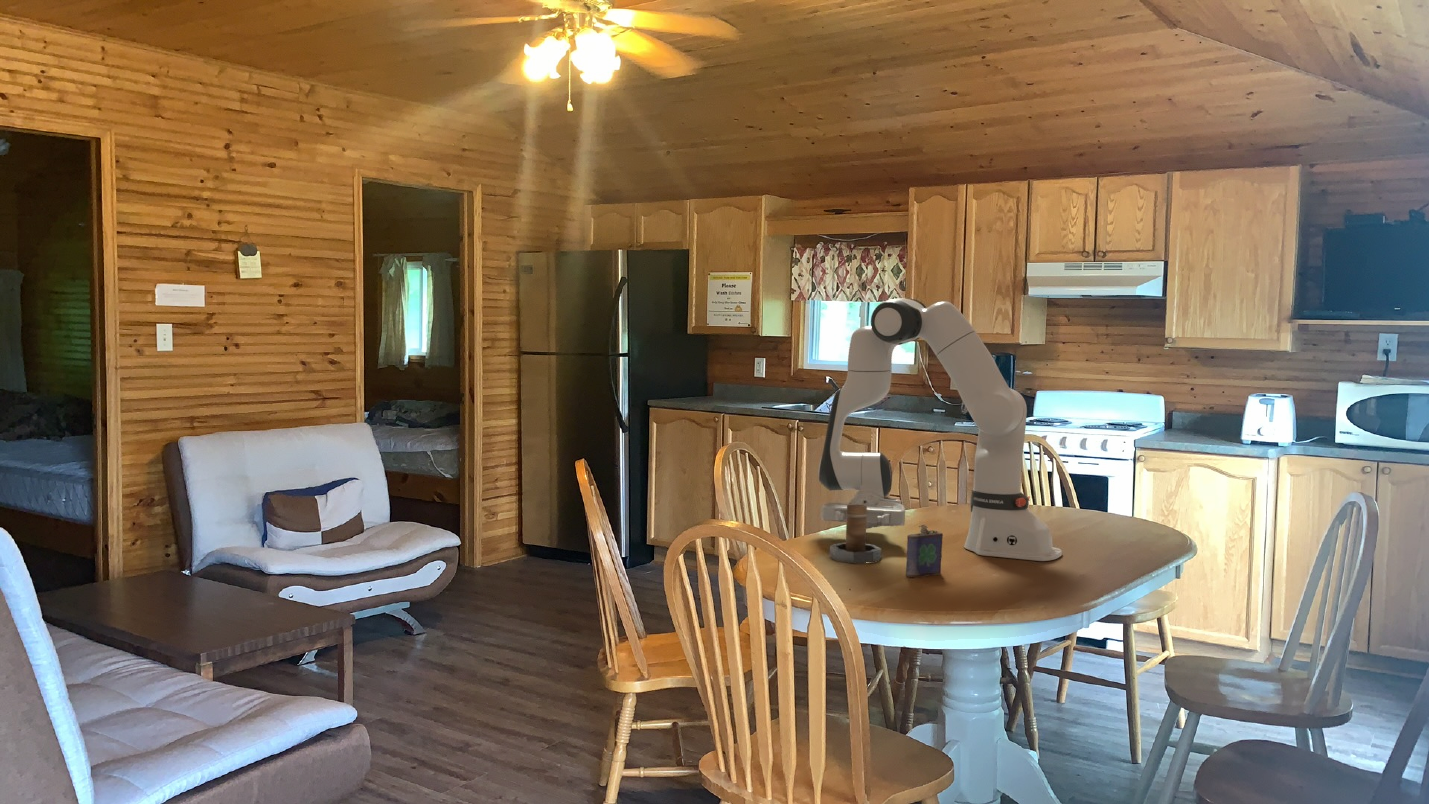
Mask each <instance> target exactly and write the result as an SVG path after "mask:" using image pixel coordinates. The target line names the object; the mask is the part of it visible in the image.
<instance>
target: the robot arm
mask: <svg viewBox="0 0 1429 804" xmlns="http://www.w3.org/2000/svg"><path fill="white" fill-rule="evenodd" d="M919 339H922V340H923V341H924V342H926V343H927V344H928V345H929V348H931V350H932V351H933V354H934V355H935V356H936V359H937V360H938V361H939V363H940V364H941V365H942V368H943V369H944V371H946V373H947V374H948V377H949V378H950V379H951V381H952V383H953V385H954V386H955V389H956V390H957V392H958V394H959V396H960V399H961V400H962V403H963V404H964V407H966V409H967V411H968V413H969V415H970V416H971V418H972V420H973V422H974V424H975V426H976V427H977V428H978V433H977V434H978V435H977V441H976V449H975V455H974V465H973V466H974V467H973V469H974V470H973V489H971V494H970V512H971V516H970V523H969V527H968V528H969V529H968V532H967V537H966V540H965V542H964V548H965V549H967V550H969V551H971V552H973V553H975V554H977V555H979V556H985V557H996V558H997V557H998V558H1006V559H1007V558H1008V559H1018V560H1027V561H1037V562H1046V561H1047V562H1049V561H1053V560H1056V559H1059V558H1060V557H1062V555H1063V554H1062V553H1063V552H1062V550H1061V548H1059V547H1054V546H1053V537H1052V532H1051V529H1050V527H1049V526H1048V525H1047V524H1046V523H1044V522H1043V521H1042V519H1040V518H1039V517H1038V516H1036V514H1034V513H1033V512H1032V511H1030V509H1029V502H1030V501H1031V499H1030V498H1031V496H1030V495H1029V496H1027V495H1025V494H1024V493H1022V490H1021V489H1022V469H1023V467H1022V465H1023V456H1024V455H1023V453H1024V446H1025V438H1026V437H1025V435H1026V427H1027V413H1028V411H1027V410H1028V409H1027V408H1028V407H1027V406H1028V405H1027V404H1026V403H1027V402H1026V400H1025V398H1024V396H1023V395H1022V394H1021V393H1020V392H1019V391H1017V390H1015V389H1013V388H1011V387H1009V385H1008V383H1007V381H1006V380H1005V378H1004V376H1003V375H1002V373H1001V371H1000V369H999V367H998V365H997V363H996V361H995V358H994V357H993V356H992V354H991V352H990V351H989V350H988V348H987V346H986V345H985V344H984V341H983V340H982V339H981V338H980V335H979V334H978V333H977V331H976V329H975V328H974V326H973V325H972V324H971V323H970V321H969V320H968V319H967V318H966V316H964V314H963V313H962V312H961V311H960V309H959V308H957V307H956V306H955V305H954V304H953V303H952V302H950V301H938V302H935V303H933V304H931V305H930V306H928V307H927V306H926V305H925V304H924V303H923V302H921V301H920V300H917V299H913V298H905V297H897V298H892V299H887V300H884V301H883V302H880V303H879V304H878V305H877V306H876V307H875V308H874V310H873V311H872V314H871V316H870V325H865V326H862V327H859V328H857V329H855V330H854V332H853V333H852V335H851V337H850V342H849V347H848V348H849V349H848V356H847V357H848V358H847V375H846V380H845V381H844V384H843V386H842V388H839V389H838V390H836V392H835V393H834V396H833V397H832V398H833V399H832V403H831V405H830V406H831V408H830V413H829V416H828V423H827V428H826V433H825V439H824V445H823V450H822V455H821V457H820V460H819V464H818V468H817V474H818V475H817V476H818V481H819V483H820V484H821V485H823V487H824V488H826V489H827V490H828V491H830V492H831V491H843V490H851V491H852V490H853V491H854V490H855V491H856V493H855V494H854V495H853V497H851V499H850V501H849V502H848V503H847V502H846V503H845V502H844V503H843V502H827V503H825V504H823V505H822V506H821V507H820V508H821V509H820V518H821V519H820V520H822V521H825V522H839V523H840V522H841V523H846V522H847V516H846V515H847V505H864V506H867V518H866V530H867V529H868V530H869V529H871V528H879V527H898V526H901V527H903V526H905V525H906V524H905V523H906V522H905V521H906V518H905V517H906V507H905V506H904V505H903V504H902V500H901V499H897V498H892V497H887V496H888V495H889V494H890V493H891V490H892V485H893V472H892V471H893V469H892V466H891V462H890V460H889V459H888V458H887V457H886V455H885V454H884V453H883V452H872V451H871V452H869V451H867V452H865V451H864V452H855V451H854V452H852V451H842V450H841V449H840V448H841V447H840V446H841V443H842V437H843V436H842V435H843V432H844V427H845V426H844V425H845V423H846V419H847V418H848V417H849V416H850V415H852V414H853V413H854V412H856V411H859V410H862V409H864V408H865V409H866V408H868V407H871V406H872V405H875V404H877V403H879V402H881V401H883V399H885V397H886V396H887V394H889V391H890V389H891V384H892V369H893V368H892V363H893V361H892V359H893V351H894V350H895V348H896V347H897V346H900V345H904V344H907V343H910V342H915V341H918V340H919Z"/></svg>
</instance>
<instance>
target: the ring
mask: <svg viewBox="0 0 1429 804" xmlns="http://www.w3.org/2000/svg"><path fill="white" fill-rule="evenodd" d="M829 557H830V559H833V560H834V561H836V562H841V563H847V562H849V564H867V563H866V562H874V563H877V562H879V561H881V560H882V548H881V547H879V546H877V545H875V544H870V543H866V548H865V551H849V550H846V542H837V543H834V544H831V545H830V546H829ZM880 559H881V560H880ZM878 560H879V561H878ZM876 561H877V562H876Z"/></svg>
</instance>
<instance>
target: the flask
mask: <svg viewBox="0 0 1429 804" xmlns="http://www.w3.org/2000/svg"><path fill="white" fill-rule="evenodd" d="M919 528H921V529H920V531H919V532H920V533H919V532H918V533H912V534H908V535H907V540H906V542H907V544H906V547H907V548H906V567H905V569H906V570H905V575H906V578H910V577H911V578H921V577H924V578H925V577H928V576H936V575H939V576H940V575H941V573H942V572H941V571H942V570H941V569H942V554H943V553H942V548H943V536H944V535H943V533H942V532H940V531H937V530H933V529H932V530H928V529H927V528H928V526H927V525H925V524H921V525H919Z"/></svg>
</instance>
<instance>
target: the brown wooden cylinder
mask: <svg viewBox="0 0 1429 804" xmlns="http://www.w3.org/2000/svg"><path fill="white" fill-rule="evenodd" d="M846 516H847V522H845V523H846V524H845V525H846V527H845V528H846V529H845V543H846V550H849V551H865V548H866V544H867V543H866V541H867V529H866V518H867V506H864V505H847V515H846Z"/></svg>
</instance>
